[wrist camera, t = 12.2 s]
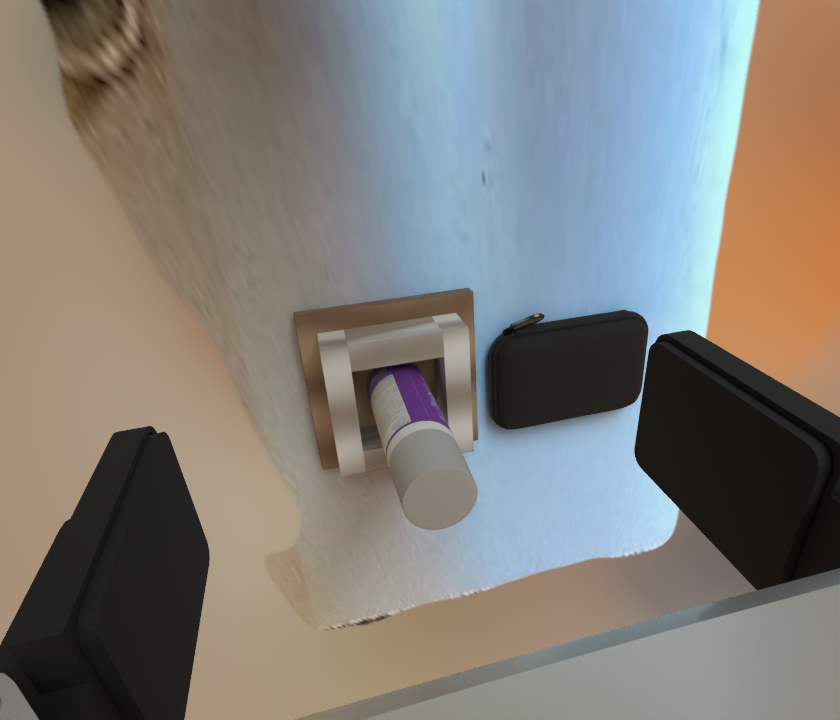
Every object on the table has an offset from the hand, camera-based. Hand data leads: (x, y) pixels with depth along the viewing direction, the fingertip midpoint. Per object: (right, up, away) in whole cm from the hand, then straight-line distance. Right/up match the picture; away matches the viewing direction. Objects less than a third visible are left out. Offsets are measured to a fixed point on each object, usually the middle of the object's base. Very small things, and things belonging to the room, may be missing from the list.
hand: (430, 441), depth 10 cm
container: (-2, 0, +33) cm, 33 cm away
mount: (-3, 0, +34) cm, 34 cm away
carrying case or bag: (+13, +2, +38) cm, 40 cm away
